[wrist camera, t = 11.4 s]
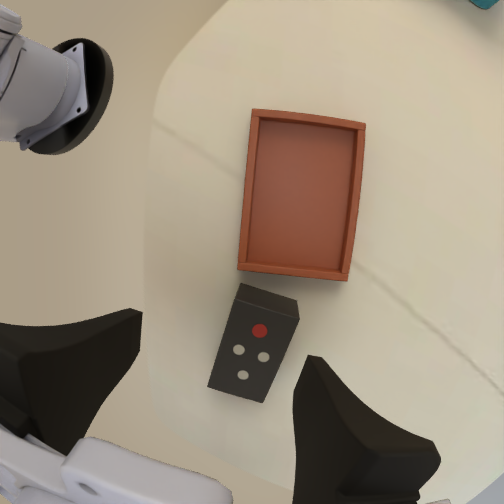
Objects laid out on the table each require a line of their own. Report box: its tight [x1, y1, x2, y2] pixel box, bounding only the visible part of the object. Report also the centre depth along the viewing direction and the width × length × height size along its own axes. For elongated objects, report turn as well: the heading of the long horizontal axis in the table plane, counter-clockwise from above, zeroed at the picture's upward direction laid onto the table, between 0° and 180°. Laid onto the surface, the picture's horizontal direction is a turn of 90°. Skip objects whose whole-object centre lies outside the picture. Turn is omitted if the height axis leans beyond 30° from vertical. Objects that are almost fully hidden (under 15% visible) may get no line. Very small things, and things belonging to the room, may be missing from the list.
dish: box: [237, 109, 366, 281], centre depth 18 cm, size 10×7×1 cm
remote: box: [207, 283, 300, 403], centre depth 19 cm, size 7×4×3 cm, turn 163°
